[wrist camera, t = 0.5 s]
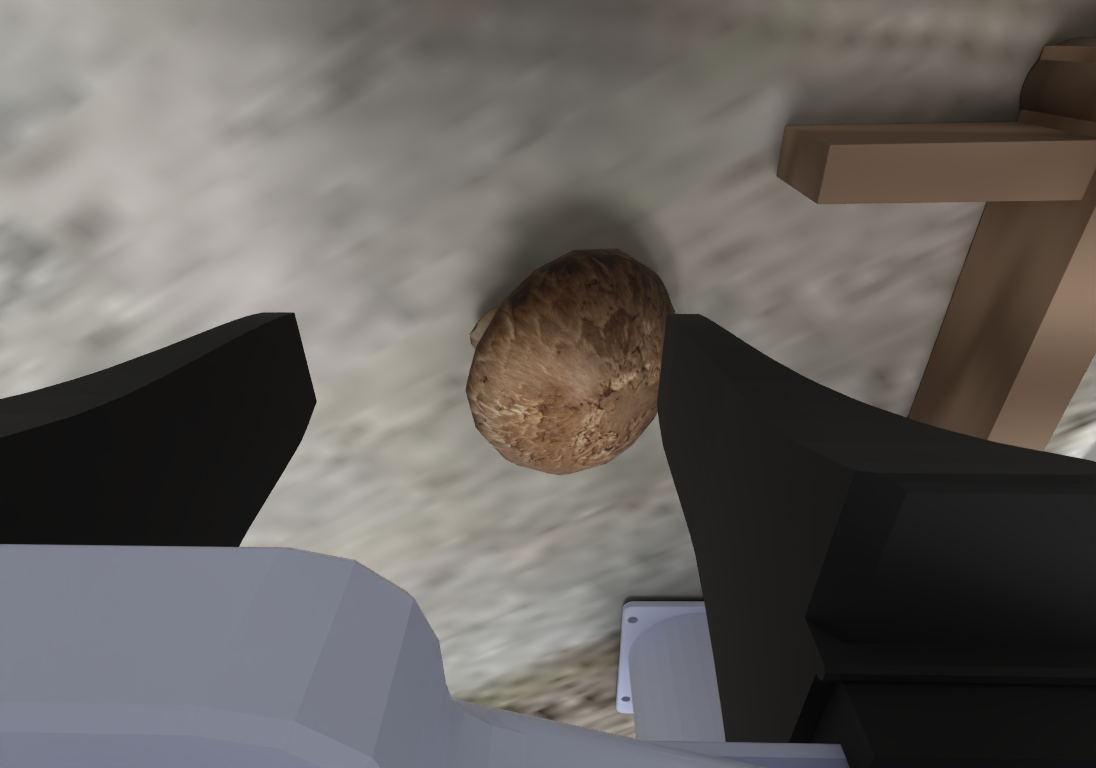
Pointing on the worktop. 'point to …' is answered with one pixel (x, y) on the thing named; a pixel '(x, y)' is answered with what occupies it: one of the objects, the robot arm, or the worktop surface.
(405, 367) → the worktop surface
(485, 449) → the worktop surface
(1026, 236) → the wooden crate
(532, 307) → the mushroom
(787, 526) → the robot arm
